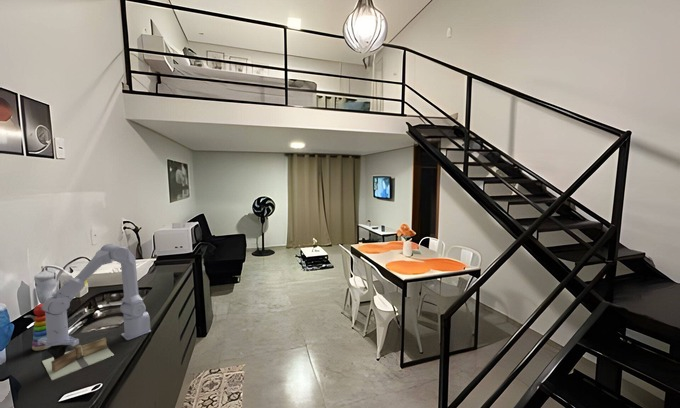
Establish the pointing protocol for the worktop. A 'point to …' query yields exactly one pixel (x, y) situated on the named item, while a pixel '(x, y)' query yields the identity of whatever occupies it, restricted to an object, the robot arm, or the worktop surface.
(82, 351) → the fence
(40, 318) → the stacking toy
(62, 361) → the fence panel
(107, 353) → the card
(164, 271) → the worktop surface
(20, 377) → the worktop surface
